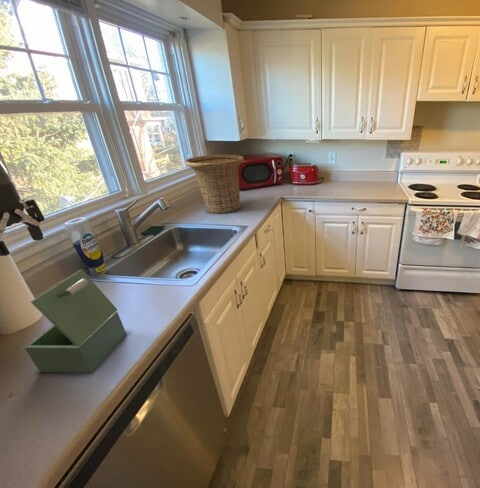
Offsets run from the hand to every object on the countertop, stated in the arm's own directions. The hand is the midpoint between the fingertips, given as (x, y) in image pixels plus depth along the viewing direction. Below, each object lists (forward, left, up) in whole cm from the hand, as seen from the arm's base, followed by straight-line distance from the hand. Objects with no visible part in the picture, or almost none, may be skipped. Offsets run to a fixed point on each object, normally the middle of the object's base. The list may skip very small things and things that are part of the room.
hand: (22, 247), depth 70 cm
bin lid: (+11, -9, -14) cm, 20 cm away
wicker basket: (+41, +111, -30) cm, 122 cm away
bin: (+7, -8, -30) cm, 32 cm away
